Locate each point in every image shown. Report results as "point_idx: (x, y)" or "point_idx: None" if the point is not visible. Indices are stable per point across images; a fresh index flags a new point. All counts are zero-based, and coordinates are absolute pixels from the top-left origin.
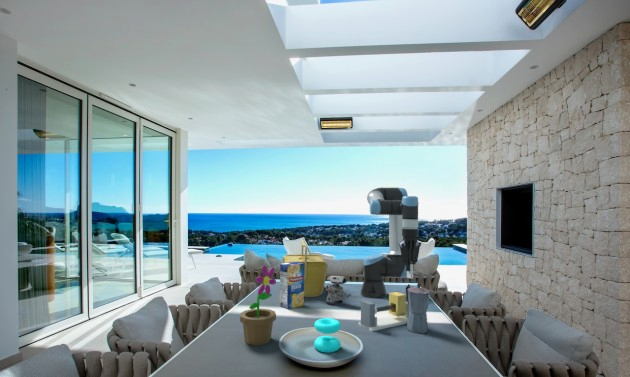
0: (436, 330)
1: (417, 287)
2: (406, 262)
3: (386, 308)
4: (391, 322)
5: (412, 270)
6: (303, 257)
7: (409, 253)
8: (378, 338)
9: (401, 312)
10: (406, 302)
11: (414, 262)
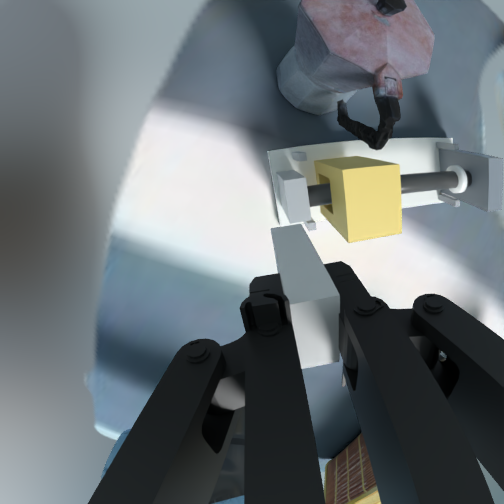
0: (250, 51)
1: (391, 15)
2: (443, 300)
3: (414, 174)
4: (378, 153)
5: (291, 258)
6: (379, 501)
7: (456, 455)
8: (452, 89)
9: (342, 158)
10: (298, 195)
11: (251, 335)
